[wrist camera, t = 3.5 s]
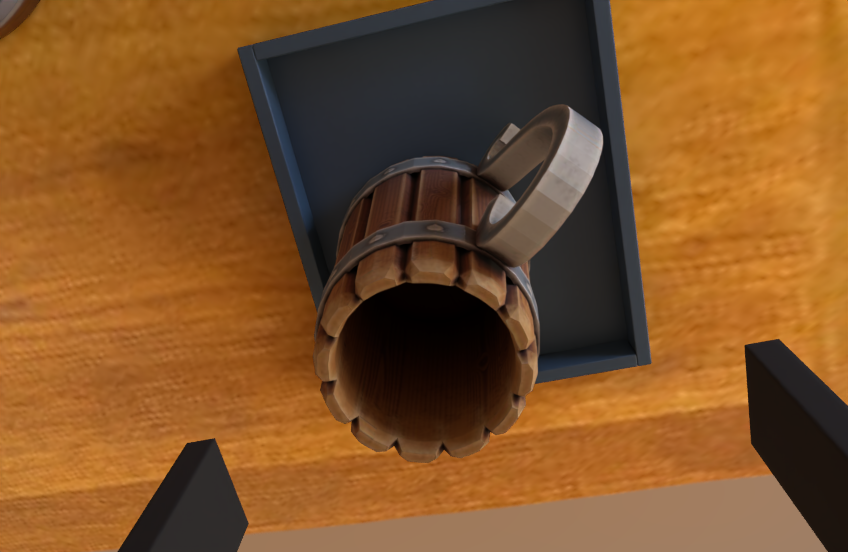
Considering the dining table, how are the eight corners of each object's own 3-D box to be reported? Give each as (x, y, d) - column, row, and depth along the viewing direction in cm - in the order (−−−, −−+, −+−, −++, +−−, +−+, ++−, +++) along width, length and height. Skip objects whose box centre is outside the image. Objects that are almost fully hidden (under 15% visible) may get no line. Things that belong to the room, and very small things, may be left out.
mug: (457, 357, 41) (461, 534, 27) (309, 266, 39) (229, 403, 25) (622, 145, 36) (734, 225, 22) (461, 29, 34) (468, 34, 20)
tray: (354, 395, 42) (348, 416, 40) (250, 46, 35) (236, 48, 33) (640, 345, 40) (652, 364, 38) (594, -37, 33) (605, -42, 31)
